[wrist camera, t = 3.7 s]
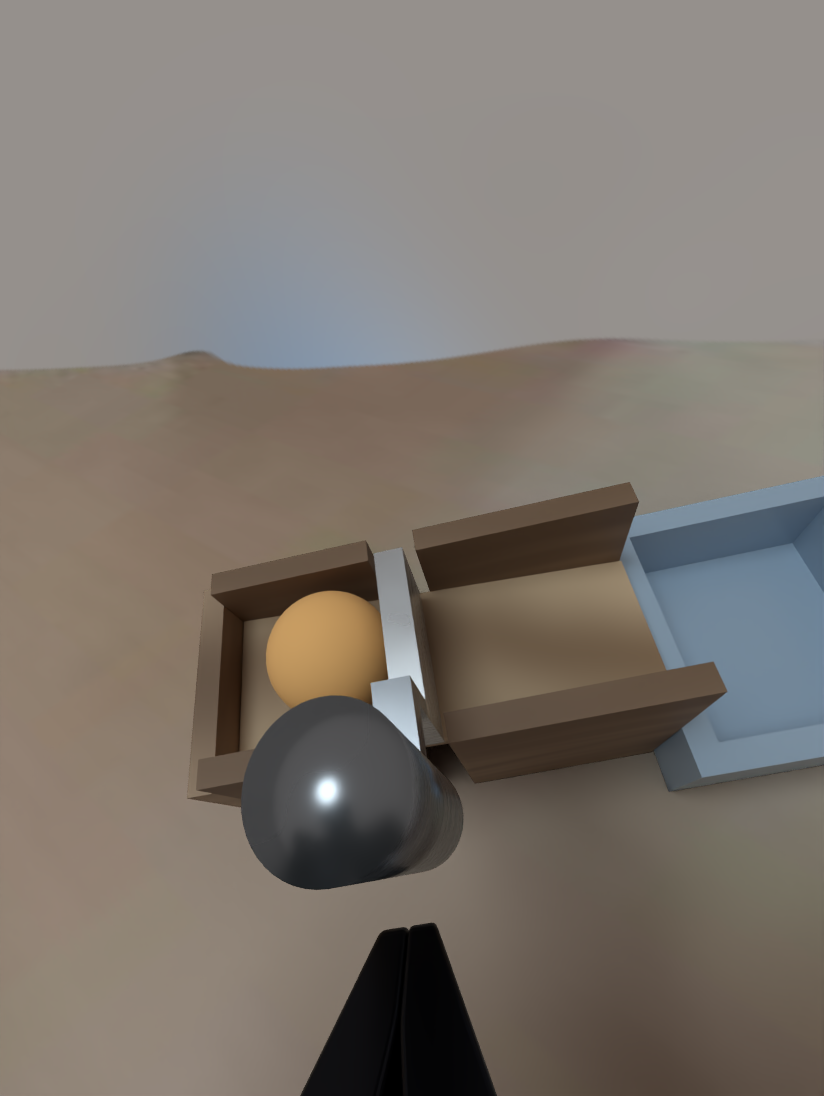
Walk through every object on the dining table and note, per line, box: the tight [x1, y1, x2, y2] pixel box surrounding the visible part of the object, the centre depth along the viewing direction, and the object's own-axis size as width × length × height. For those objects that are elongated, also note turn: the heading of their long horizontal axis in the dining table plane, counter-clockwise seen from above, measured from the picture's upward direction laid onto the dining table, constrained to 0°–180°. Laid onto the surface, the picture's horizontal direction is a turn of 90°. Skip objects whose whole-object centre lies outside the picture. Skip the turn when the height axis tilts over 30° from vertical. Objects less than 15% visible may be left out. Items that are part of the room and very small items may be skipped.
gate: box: [241, 547, 463, 890], centre depth 11 cm, size 8×2×9 cm, turn 8°
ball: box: [266, 591, 388, 708], centre depth 14 cm, size 4×4×4 cm
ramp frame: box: [187, 482, 728, 807], centre depth 17 cm, size 6×13×8 cm, turn 98°
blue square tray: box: [619, 476, 824, 792], centre depth 18 cm, size 9×9×4 cm
